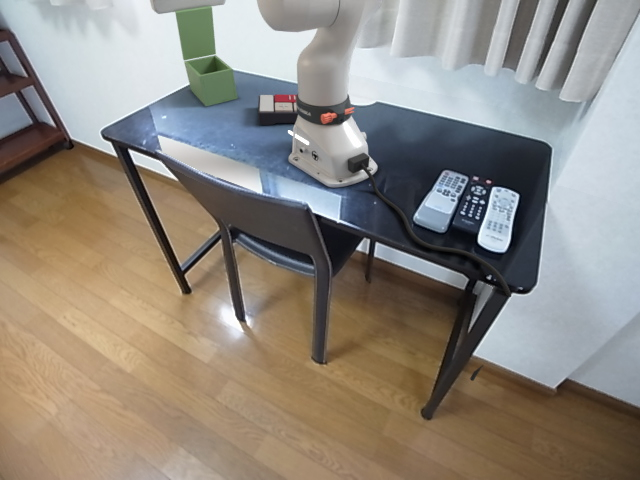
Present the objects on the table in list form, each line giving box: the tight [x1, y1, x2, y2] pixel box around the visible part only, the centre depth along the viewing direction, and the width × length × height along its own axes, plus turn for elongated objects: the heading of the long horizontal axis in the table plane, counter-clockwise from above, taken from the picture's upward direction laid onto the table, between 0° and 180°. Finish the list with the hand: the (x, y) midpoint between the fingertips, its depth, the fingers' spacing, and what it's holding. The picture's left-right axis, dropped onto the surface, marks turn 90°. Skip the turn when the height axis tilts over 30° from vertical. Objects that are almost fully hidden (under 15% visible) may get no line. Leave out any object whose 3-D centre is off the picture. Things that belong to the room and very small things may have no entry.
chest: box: [183, 54, 238, 107], centre depth 113 cm, size 14×10×9 cm
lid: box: [174, 6, 217, 61], centre depth 108 cm, size 14×10×1 cm
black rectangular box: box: [257, 94, 298, 126], centre depth 105 cm, size 11×4×15 cm
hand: (194, 26), depth 107 cm, fingers closed, pressing on lid
